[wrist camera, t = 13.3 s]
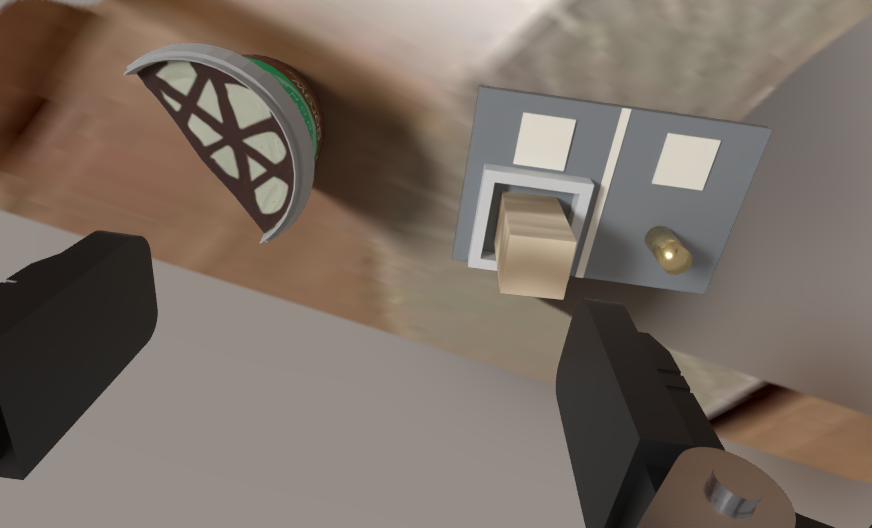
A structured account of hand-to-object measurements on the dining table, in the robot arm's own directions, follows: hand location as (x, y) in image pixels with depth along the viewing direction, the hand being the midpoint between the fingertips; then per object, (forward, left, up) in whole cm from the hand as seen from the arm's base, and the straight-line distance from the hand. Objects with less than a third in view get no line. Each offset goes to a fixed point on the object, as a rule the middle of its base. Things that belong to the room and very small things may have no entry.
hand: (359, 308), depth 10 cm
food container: (+3, -10, -30) cm, 32 cm away
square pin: (+9, +8, -29) cm, 31 cm away
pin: (+9, +18, -29) cm, 35 cm away
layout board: (+6, +13, -30) cm, 33 cm away
